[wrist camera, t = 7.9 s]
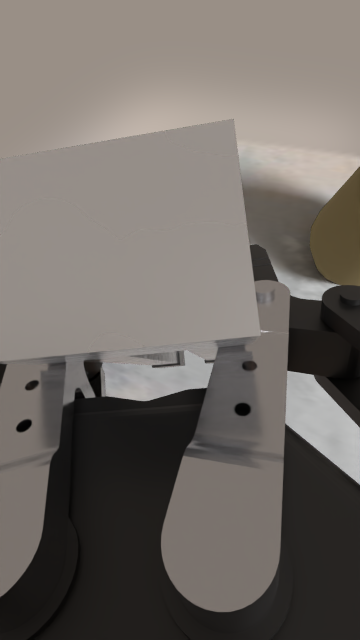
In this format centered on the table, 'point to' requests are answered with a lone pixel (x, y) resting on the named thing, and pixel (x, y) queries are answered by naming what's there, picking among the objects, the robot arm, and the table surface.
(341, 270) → the squeeze bottle
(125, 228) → the grey arch block
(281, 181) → the table surface
